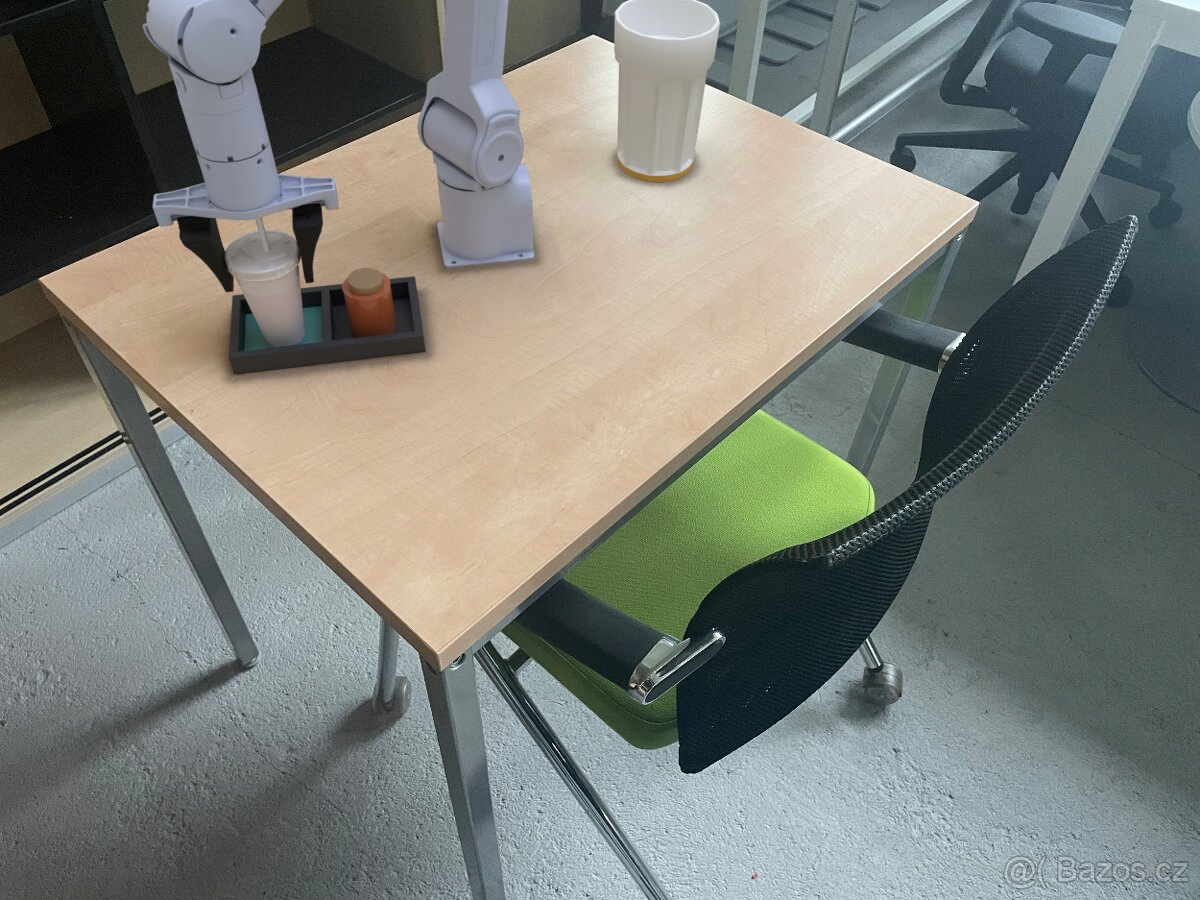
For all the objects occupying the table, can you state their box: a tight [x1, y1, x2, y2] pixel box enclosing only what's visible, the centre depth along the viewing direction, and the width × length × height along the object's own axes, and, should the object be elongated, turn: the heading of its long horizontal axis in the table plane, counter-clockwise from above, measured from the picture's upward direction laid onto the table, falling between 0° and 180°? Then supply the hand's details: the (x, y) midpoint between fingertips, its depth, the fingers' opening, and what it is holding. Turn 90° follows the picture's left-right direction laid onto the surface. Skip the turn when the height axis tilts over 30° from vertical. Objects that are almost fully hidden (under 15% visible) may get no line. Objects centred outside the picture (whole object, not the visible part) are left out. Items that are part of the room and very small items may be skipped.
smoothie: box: [225, 217, 305, 347], centre depth 85 cm, size 6×6×14 cm
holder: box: [228, 275, 427, 375], centre depth 91 cm, size 9×17×2 cm, turn 103°
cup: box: [613, 0, 721, 183], centre depth 108 cm, size 11×11×17 cm
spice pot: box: [342, 267, 397, 338], centre depth 90 cm, size 4×4×6 cm
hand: (270, 280), depth 86 cm, fingers closed on smoothie, 6 cm apart
